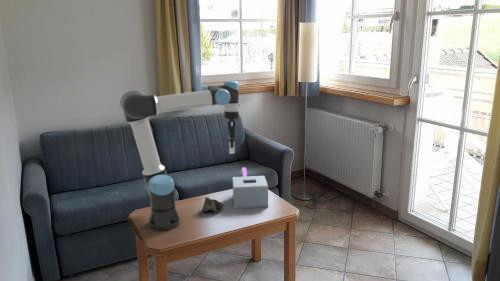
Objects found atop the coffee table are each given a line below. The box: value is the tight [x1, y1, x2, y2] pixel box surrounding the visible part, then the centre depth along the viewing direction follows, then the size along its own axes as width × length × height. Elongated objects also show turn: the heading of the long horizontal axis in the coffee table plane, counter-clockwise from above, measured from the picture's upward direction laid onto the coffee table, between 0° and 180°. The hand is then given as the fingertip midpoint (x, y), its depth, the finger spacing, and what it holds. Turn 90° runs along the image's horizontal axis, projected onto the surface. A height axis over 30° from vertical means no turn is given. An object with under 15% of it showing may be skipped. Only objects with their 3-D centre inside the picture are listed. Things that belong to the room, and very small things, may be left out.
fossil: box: [201, 196, 224, 215], centre depth 214 cm, size 11×9×10 cm
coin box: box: [232, 175, 269, 209], centre depth 224 cm, size 18×16×12 cm
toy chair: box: [241, 166, 248, 177], centre depth 237 cm, size 8×9×15 cm
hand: (231, 149), depth 220 cm, fingers open, 13 cm apart
